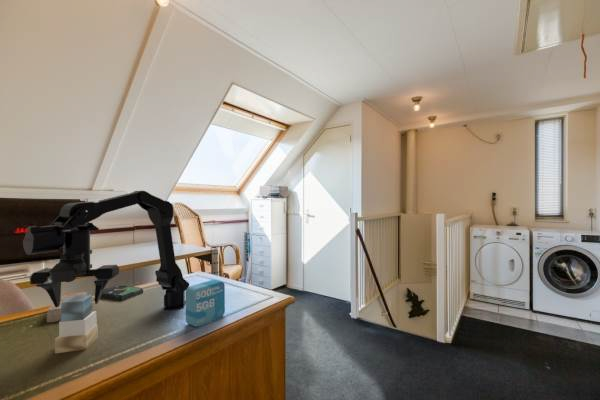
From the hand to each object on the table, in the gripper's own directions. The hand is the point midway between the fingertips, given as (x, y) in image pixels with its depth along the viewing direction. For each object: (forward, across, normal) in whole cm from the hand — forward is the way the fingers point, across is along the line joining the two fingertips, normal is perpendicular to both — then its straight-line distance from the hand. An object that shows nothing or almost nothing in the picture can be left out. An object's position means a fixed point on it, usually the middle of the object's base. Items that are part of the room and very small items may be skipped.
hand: (77, 305), depth 76 cm
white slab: (+7, 0, 0) cm, 7 cm away
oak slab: (+11, 0, 0) cm, 11 cm away
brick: (+12, -15, +28) cm, 34 cm away
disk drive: (+12, -4, +43) cm, 45 cm away
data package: (+11, +33, +7) cm, 36 cm away
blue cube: (+3, 0, 0) cm, 3 cm away
